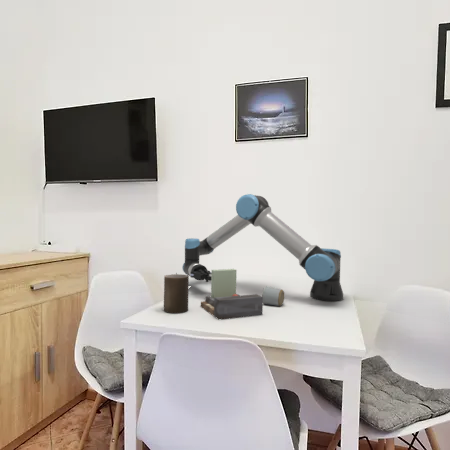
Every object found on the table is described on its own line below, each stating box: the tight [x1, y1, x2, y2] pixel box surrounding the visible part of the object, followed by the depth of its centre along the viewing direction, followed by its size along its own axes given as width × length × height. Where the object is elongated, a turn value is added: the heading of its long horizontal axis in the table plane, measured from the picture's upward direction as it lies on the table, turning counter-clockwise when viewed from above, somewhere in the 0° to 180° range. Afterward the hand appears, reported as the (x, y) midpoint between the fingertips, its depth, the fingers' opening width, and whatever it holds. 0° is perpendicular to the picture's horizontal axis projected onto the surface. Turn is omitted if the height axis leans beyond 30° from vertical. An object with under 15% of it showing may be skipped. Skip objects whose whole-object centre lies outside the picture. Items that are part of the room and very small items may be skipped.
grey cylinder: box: [261, 285, 285, 307], centre depth 156 cm, size 11×8×8 cm
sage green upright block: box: [210, 268, 238, 299], centre depth 150 cm, size 3×10×13 cm, turn 114°
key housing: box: [200, 293, 264, 320], centre depth 144 cm, size 20×18×8 cm
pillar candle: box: [163, 272, 190, 314], centre depth 143 cm, size 10×10×15 cm
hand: (215, 279), depth 157 cm, fingers closed
